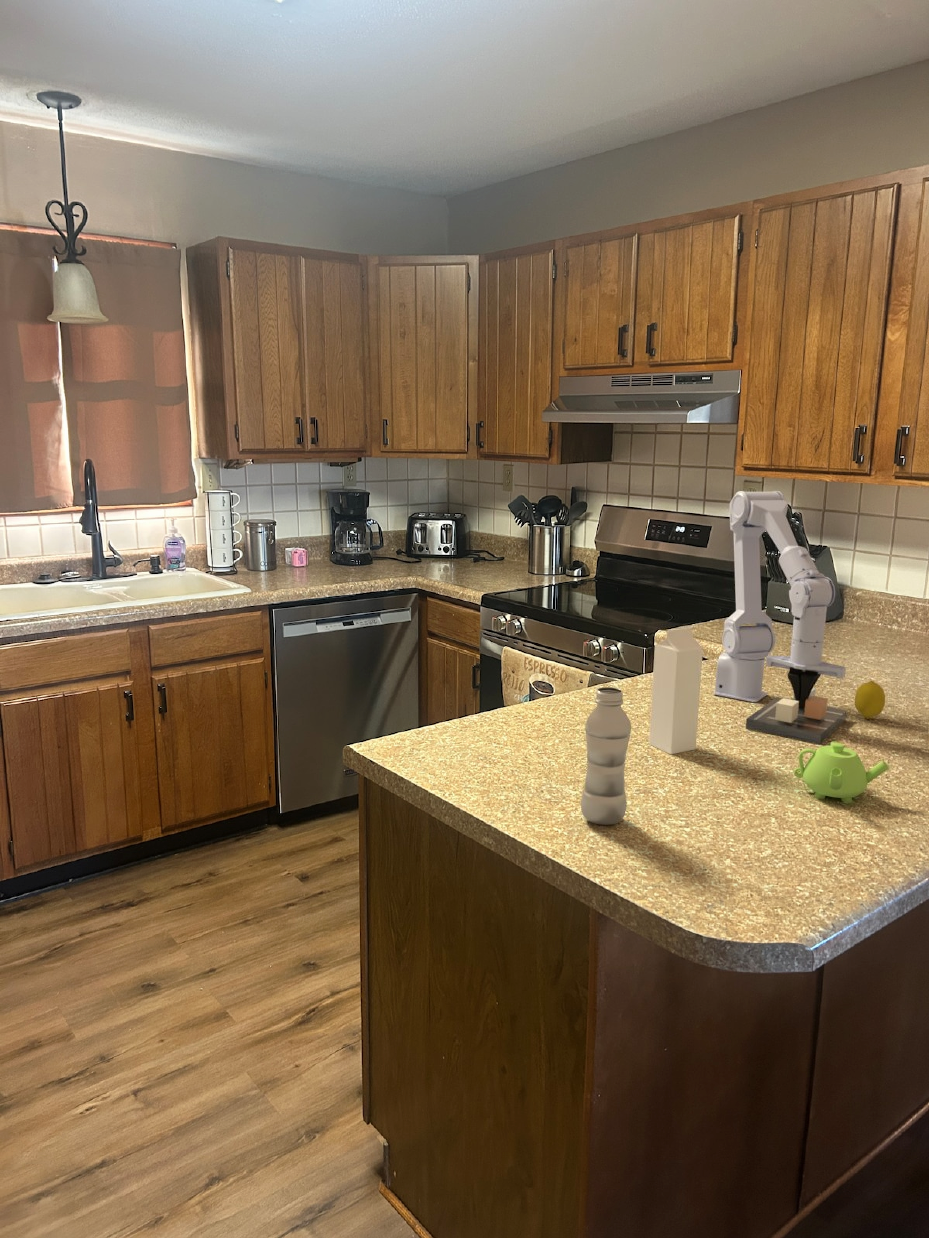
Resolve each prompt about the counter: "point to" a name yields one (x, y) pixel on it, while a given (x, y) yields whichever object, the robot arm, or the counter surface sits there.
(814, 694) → the block
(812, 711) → the block
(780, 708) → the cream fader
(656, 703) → the milk
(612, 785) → the plastic bottle
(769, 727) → the panel
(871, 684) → the lemon
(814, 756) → the teapot
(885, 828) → the counter surface
